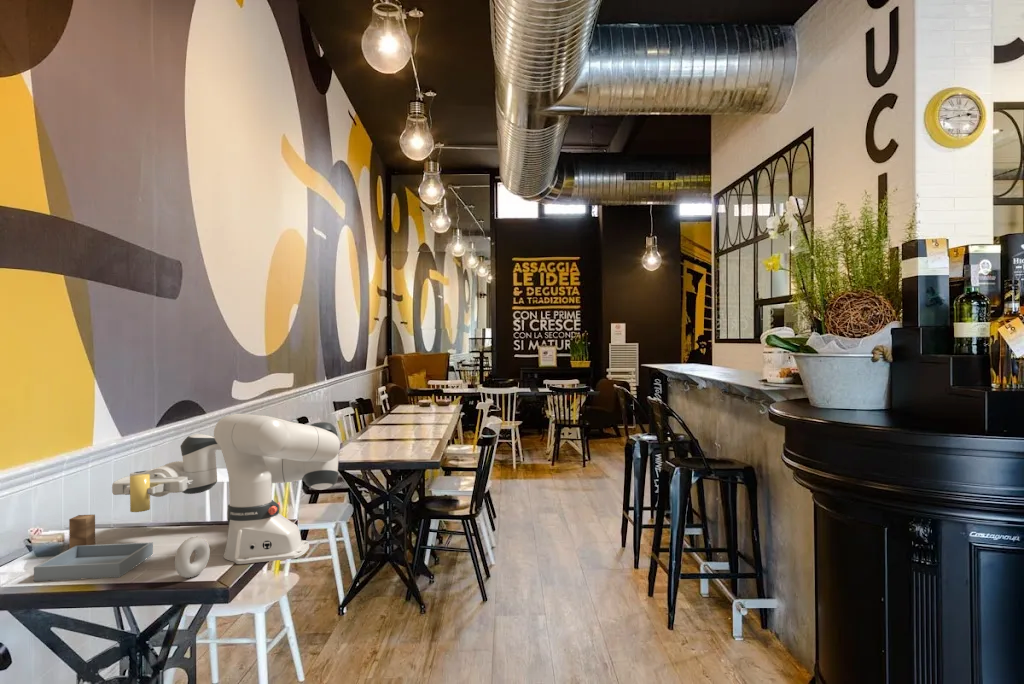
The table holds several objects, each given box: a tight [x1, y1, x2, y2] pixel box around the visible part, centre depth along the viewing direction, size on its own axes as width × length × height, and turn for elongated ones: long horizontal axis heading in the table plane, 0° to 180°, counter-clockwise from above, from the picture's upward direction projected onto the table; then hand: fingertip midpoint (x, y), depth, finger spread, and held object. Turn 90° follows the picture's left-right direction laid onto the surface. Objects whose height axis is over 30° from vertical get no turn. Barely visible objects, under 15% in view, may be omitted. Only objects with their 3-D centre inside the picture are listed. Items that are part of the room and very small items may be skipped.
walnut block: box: [68, 514, 96, 549], centre depth 181 cm, size 4×4×10 cm
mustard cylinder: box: [129, 474, 151, 513], centre depth 182 cm, size 5×5×10 cm
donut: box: [174, 535, 211, 579], centre depth 159 cm, size 10×4×10 cm, turn 162°
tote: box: [33, 541, 154, 582], centre depth 167 cm, size 20×18×4 cm
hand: (138, 491), depth 182 cm, fingers closed on mustard cylinder, 5 cm apart
